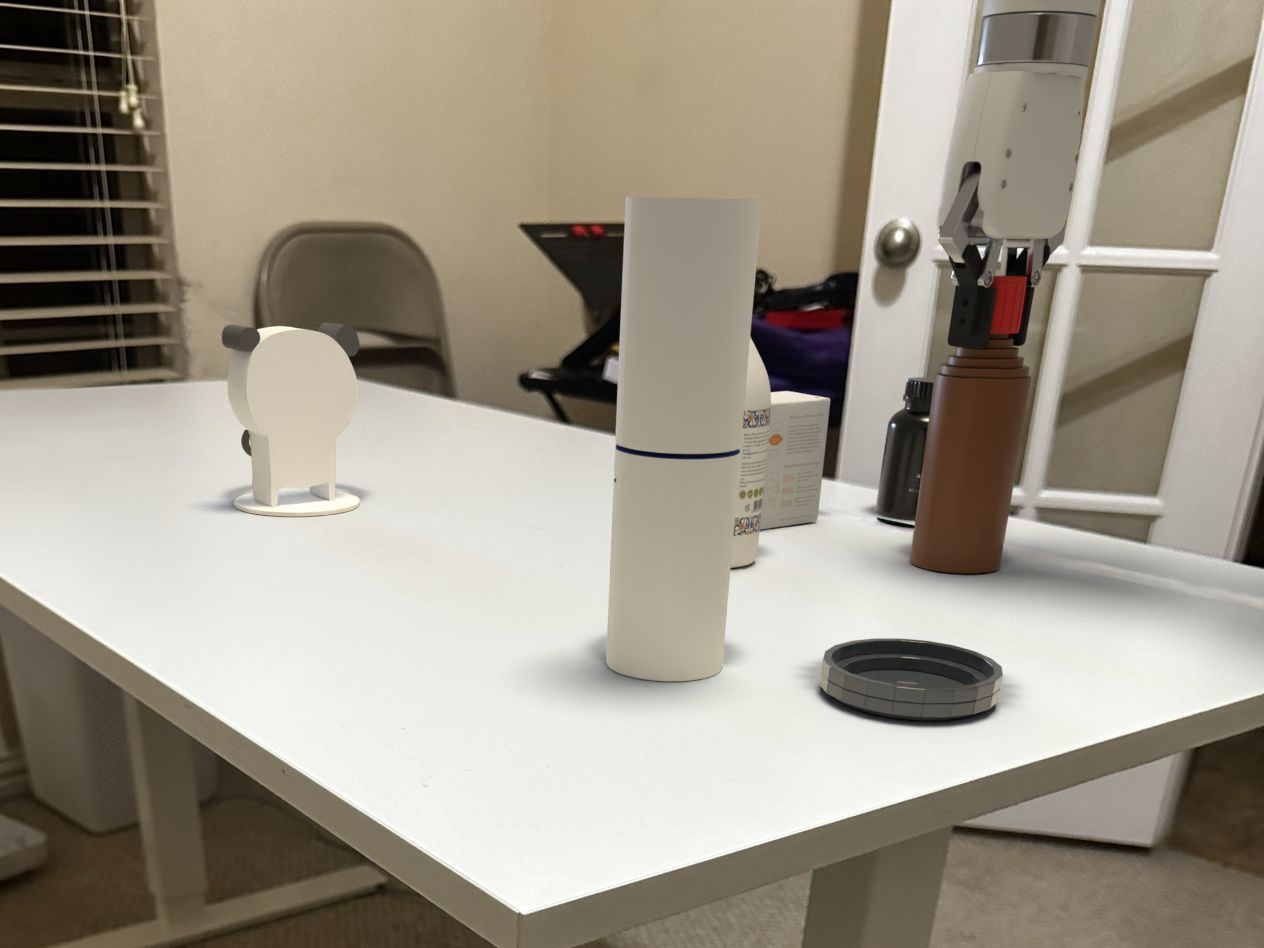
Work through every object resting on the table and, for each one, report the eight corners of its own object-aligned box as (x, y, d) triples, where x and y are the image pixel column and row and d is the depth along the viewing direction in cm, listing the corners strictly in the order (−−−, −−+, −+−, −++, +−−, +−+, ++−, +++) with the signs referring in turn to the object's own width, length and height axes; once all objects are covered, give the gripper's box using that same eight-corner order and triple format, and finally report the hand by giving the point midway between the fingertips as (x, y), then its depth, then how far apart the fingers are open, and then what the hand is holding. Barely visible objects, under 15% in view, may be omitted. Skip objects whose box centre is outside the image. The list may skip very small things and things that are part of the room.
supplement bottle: (923, 533, 120) (945, 386, 114) (859, 521, 124) (877, 378, 118) (966, 524, 124) (990, 381, 118) (902, 512, 128) (922, 373, 122)
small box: (776, 512, 127) (788, 389, 122) (818, 522, 123) (833, 397, 118) (710, 520, 123) (719, 394, 118) (752, 531, 119) (763, 402, 114)
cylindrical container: (636, 686, 80) (663, 197, 68) (587, 652, 86) (603, 196, 74) (743, 674, 82) (787, 200, 70) (688, 642, 88) (721, 199, 76)
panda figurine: (327, 488, 133) (318, 318, 126) (389, 507, 125) (383, 327, 118) (213, 500, 127) (196, 321, 119) (271, 521, 119) (257, 331, 112)
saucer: (1031, 701, 79) (1037, 668, 78) (925, 737, 73) (931, 701, 72) (890, 660, 86) (895, 629, 85) (784, 690, 80) (787, 656, 79)
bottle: (1017, 565, 109) (1065, 286, 100) (965, 577, 105) (1010, 288, 96) (944, 550, 114) (983, 283, 104) (891, 561, 110) (927, 284, 100)
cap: (949, 331, 102) (956, 275, 100) (982, 329, 104) (990, 275, 102) (996, 334, 99) (1005, 277, 97) (1030, 332, 101) (1039, 276, 99)
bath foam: (757, 552, 112) (782, 279, 102) (756, 572, 106) (782, 284, 96) (672, 548, 113) (689, 277, 103) (666, 567, 107) (683, 281, 97)
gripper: (1053, 64, 100) (1007, 337, 109) (912, 45, 91) (874, 346, 100) (1148, 58, 95) (1092, 345, 104) (1009, 38, 86) (960, 355, 95)
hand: (986, 343), depth 102 cm, fingers closed on cap, 3 cm apart
